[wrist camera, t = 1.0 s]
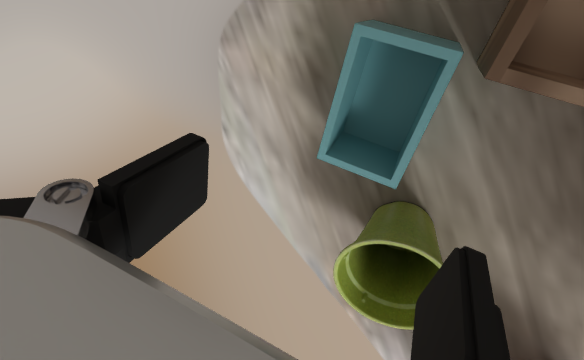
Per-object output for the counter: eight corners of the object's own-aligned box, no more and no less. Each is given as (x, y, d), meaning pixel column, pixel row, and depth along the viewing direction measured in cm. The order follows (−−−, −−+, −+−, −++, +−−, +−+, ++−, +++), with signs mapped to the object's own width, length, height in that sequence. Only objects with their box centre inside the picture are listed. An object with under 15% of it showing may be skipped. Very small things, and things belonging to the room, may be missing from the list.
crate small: (459, 42, 22) (463, 52, 17) (403, 157, 27) (395, 189, 23) (372, 19, 23) (354, 23, 19) (337, 133, 29) (316, 158, 24)
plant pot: (372, 171, 29) (350, 222, 22) (473, 208, 27) (483, 277, 20) (346, 238, 34) (322, 296, 28) (428, 273, 32) (424, 346, 25)
